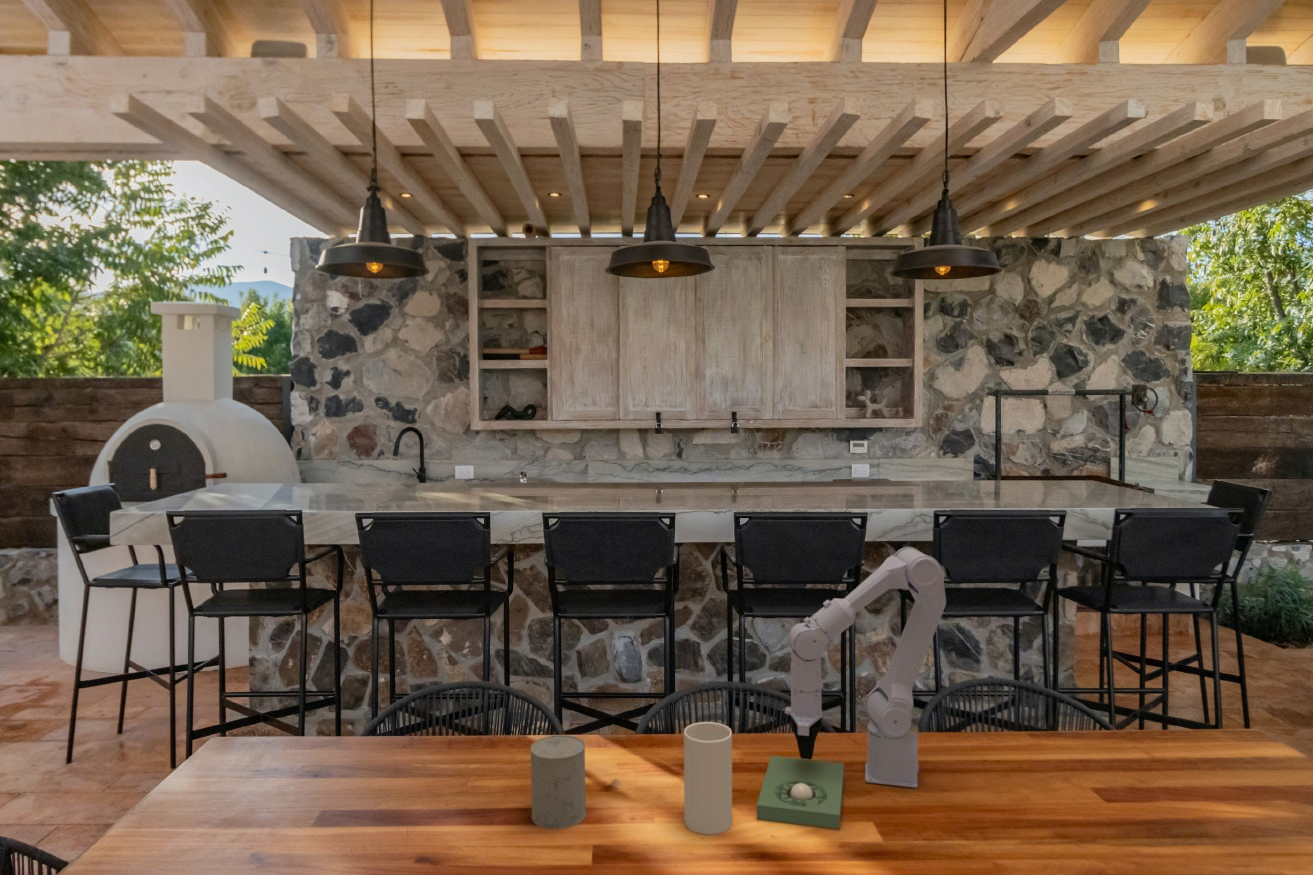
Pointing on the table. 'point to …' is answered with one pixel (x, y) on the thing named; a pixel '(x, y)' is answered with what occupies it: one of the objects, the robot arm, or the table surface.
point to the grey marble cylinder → (558, 781)
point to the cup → (708, 777)
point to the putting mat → (812, 812)
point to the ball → (801, 792)
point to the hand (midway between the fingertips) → (806, 757)
